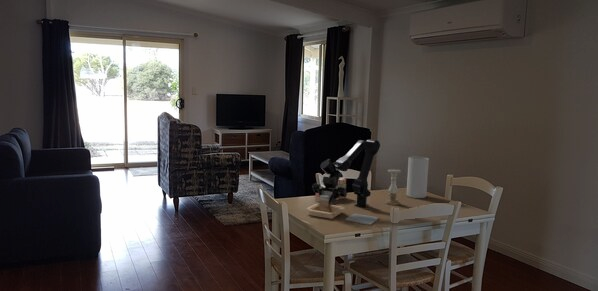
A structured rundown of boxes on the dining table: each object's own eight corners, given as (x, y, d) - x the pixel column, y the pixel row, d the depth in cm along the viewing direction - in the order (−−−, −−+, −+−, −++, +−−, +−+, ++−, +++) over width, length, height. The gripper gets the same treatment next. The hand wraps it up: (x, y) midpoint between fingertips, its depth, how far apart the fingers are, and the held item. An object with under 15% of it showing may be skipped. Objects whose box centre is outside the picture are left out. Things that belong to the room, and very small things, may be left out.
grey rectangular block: (322, 212, 246) (323, 194, 245) (331, 213, 244) (332, 195, 243) (318, 214, 242) (319, 195, 240) (327, 215, 239) (328, 197, 238)
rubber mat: (353, 214, 245) (353, 213, 245) (379, 218, 239) (379, 217, 239) (344, 220, 232) (344, 219, 232) (370, 225, 226) (370, 224, 226)
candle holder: (390, 205, 267) (392, 171, 265) (382, 202, 275) (384, 169, 273) (402, 204, 270) (404, 171, 268) (394, 201, 278) (396, 168, 276)
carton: (317, 208, 254) (317, 202, 254) (345, 213, 246) (346, 207, 246) (303, 215, 239) (303, 209, 238) (333, 221, 231) (334, 214, 231)
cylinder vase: (415, 193, 303) (417, 156, 300) (430, 197, 293) (432, 158, 290) (402, 195, 295) (404, 157, 292) (417, 199, 285) (420, 160, 282)
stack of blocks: (322, 203, 268) (323, 182, 267) (315, 201, 273) (315, 181, 271) (345, 197, 284) (346, 178, 282) (337, 196, 288) (338, 176, 286)
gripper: (314, 168, 248) (304, 192, 239) (346, 172, 239) (337, 197, 231) (319, 180, 255) (310, 203, 247) (350, 184, 247) (342, 208, 239)
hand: (324, 203), depth 241 cm, fingers closed on grey rectangular block, 5 cm apart
